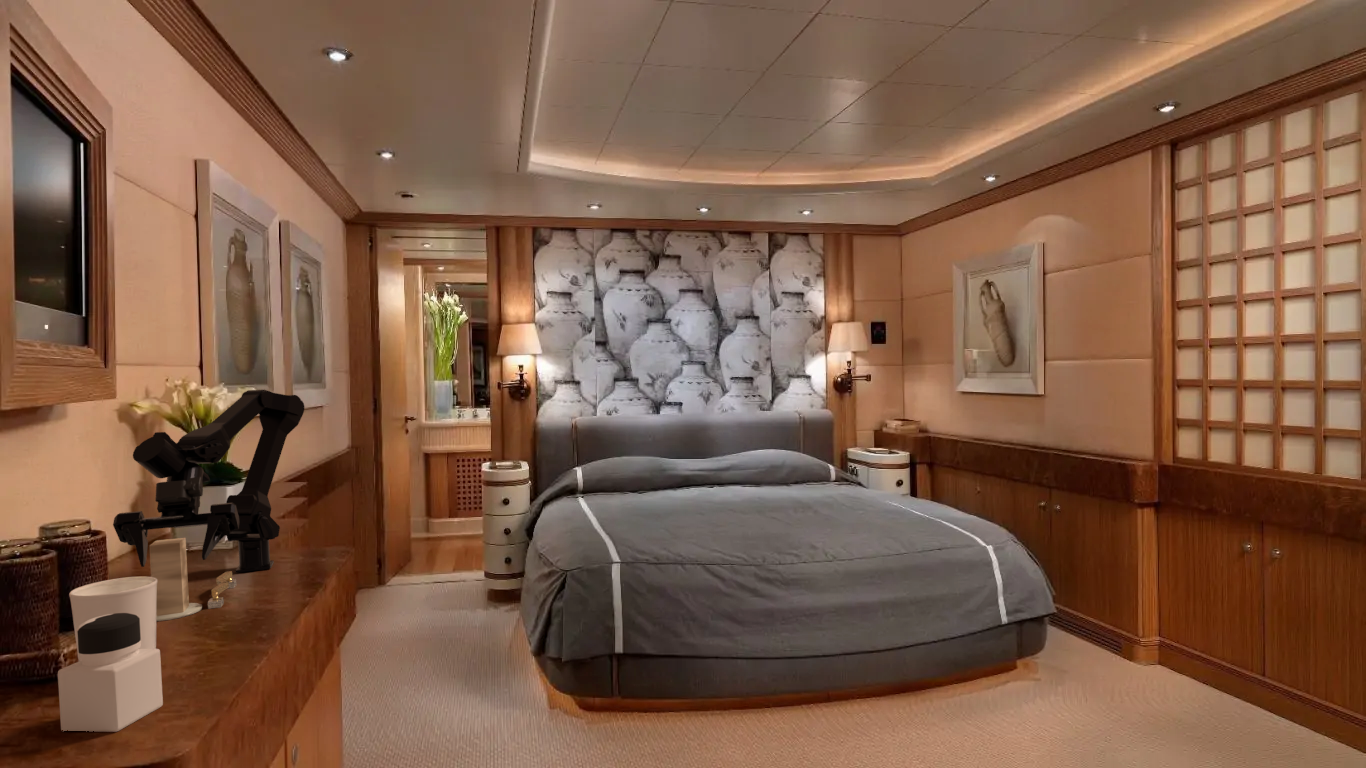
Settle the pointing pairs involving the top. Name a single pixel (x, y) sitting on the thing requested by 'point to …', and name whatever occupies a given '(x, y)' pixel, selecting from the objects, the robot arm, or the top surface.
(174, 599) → the maple peg
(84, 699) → the medicine bottle
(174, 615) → the coaster
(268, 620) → the top surface
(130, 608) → the candle holder
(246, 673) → the top surface
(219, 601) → the zigzag wooden handle
